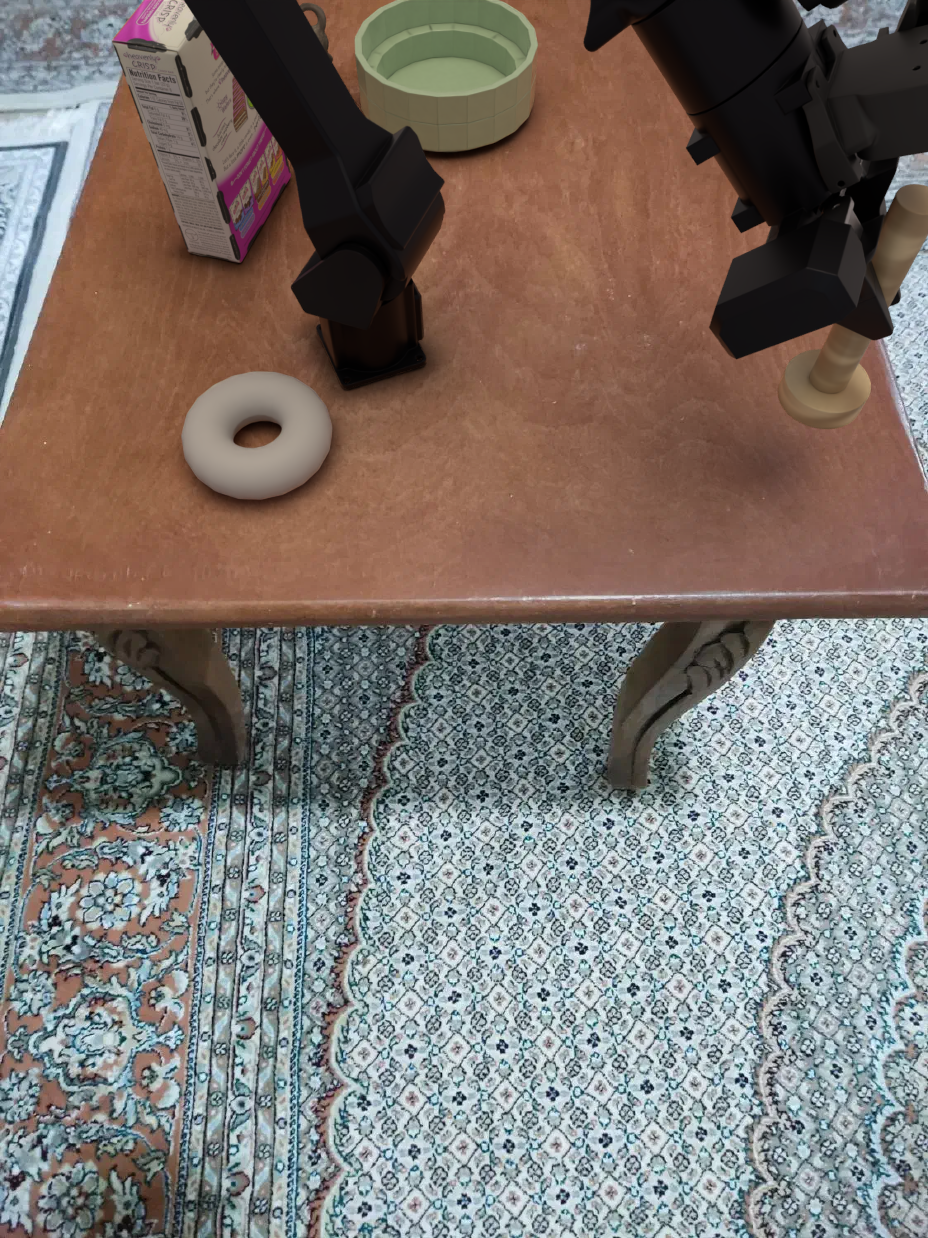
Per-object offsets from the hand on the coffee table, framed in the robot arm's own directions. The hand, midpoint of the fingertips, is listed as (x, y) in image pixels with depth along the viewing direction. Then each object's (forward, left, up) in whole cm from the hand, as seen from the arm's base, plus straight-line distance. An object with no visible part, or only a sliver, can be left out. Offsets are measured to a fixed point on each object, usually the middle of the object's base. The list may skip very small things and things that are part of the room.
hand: (887, 319), depth 47 cm
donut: (-33, +16, -14) cm, 39 cm away
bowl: (-7, +47, -13) cm, 49 cm away
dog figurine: (-21, +55, -14) cm, 60 cm away
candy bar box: (-28, +40, -14) cm, 51 cm away
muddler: (-1, +1, -7) cm, 7 cm away
